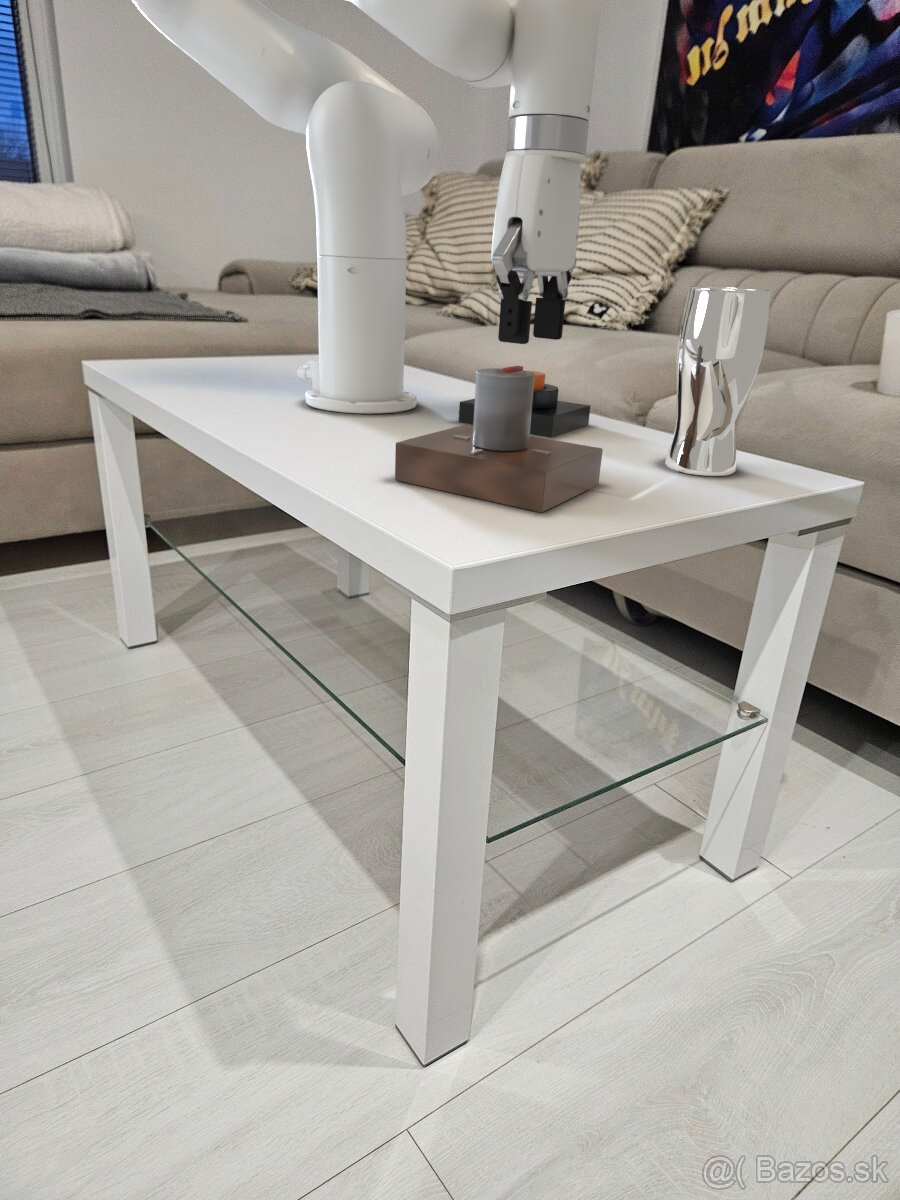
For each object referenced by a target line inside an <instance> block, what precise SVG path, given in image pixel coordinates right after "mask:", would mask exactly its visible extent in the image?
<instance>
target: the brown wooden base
mask: <svg viewBox="0 0 900 1200" xmlns="http://www.w3.org/2000/svg"><path fill="white" fill-rule="evenodd" d="M472 441H473V425H470V424H462V425H458V426H454V427H450V428H447V429H443V430H439V431H438V430H437V431H434V432H432V433H431V432H430V433H427V434H424V435H419V436H416V437H412V438H408V439H405V440H402V441H401V440H400V441H396V442H395V451H394V452H395V453H394V454H395V456H394V458H395V459H394V480H395V481H397V482H401V483H402V482H403V483H406V484H411V485H415V486H420V487H424V488H428V489H432V490H433V489H434V490H438V491H442V492H447V493H450V494H451V493H452V494H455V495H461V496H465V497H468V498H474V499H478V500H484V501H488V502H492V503H496V504H500V505H505V506H510V507H514V508H519V509H524V510H528V511H532V512H538V513H541V514H542V513H544V512H546V511H549V510H550V509H552V508H554V507H556V506H558V505H560V504H562V503H565V502H566V501H569V500H570V499H573V498H575V497H577V496H579V495H581V494H584V493H585V492H587V491H589V490H590V489H593V488H595V487H596V486H599V483H600V476H601V466H602V458H603V450H604V449H603V448H601V447H595V446H590V445H585V444H580V443H579V444H578V443H574V442H573V443H572V442H568V441H567V442H566V441H561V440H557V439H556V440H555V439H551V438H546V437H540V436H538V437H537V436H534V435H530V437H529V447H528V448H526V449H523V450H518V451H496V450H488V449H483V448H480V447H477V446H475V445H473V443H472Z"/></svg>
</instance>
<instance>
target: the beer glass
mask: <svg viewBox="0 0 900 1200" xmlns="http://www.w3.org/2000/svg"><path fill="white" fill-rule="evenodd" d="M772 293H773V292H772V290H770V289H760V288H750V287H749V288H748V287H732V286H715V285H714V286H713V285H711V286H710V285H689V286H688V290H687V294H686V300H685V304H684V307H683V312H682V318H681V322H680V327H679V331H678V338H677V339H678V340H677V347H676V359H675V360H676V361H675V362H676V363H675V364H676V365H675V387H676V388H675V389H676V415H675V416H676V418H675V427H674V432H673V435H672V439H671V442H670V446H669V448H668V451H667V454H666V457H665V461H664V463H665V466H666V467H667V468H668V469H671V470H674V471H677V472H680V473H684V474H688V475H695V476H701V477H702V476H703V477H725V476H730V475H733V474H734V473H735V472H736V471H737V442H738V441H737V440H738V432H739V428H740V424H741V420H742V417H743V414H744V411H745V408H746V406H747V403H748V400H749V398H750V395H751V393H752V389H753V387H754V383H755V381H756V378H757V376H758V372H759V369H760V366H761V363H762V358H763V355H764V349H765V344H766V338H767V333H768V332H767V331H768V325H769V315H770V305H771V297H772Z"/></svg>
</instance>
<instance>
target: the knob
mask: <svg viewBox="0 0 900 1200" xmlns="http://www.w3.org/2000/svg"><path fill="white" fill-rule="evenodd" d="M528 371H529V370H524V366H522V365H514V366H508V367H503V368H497V367H496V368H481V369H478V370H476V372H475V389H474V391H475V392H474V399H475V406H474V423H473V424H472V426H473V441H472V443H473V445H475V446H477V447H480V448H483V449H488V450H496V451H518V450H523V449H526V448H528V447H529V437H530V436H531V434H530V425H531V413H532V401H533V389H534V377H535V374H534V373H532V372H528Z"/></svg>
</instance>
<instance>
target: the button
mask: <svg viewBox="0 0 900 1200" xmlns="http://www.w3.org/2000/svg"><path fill="white" fill-rule="evenodd" d="M527 371H528V372H532V373H534V374H535V377H534V389H533V390H540V389H544V385H545V384H546V373H545V372H542V371H536V370H527Z"/></svg>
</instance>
